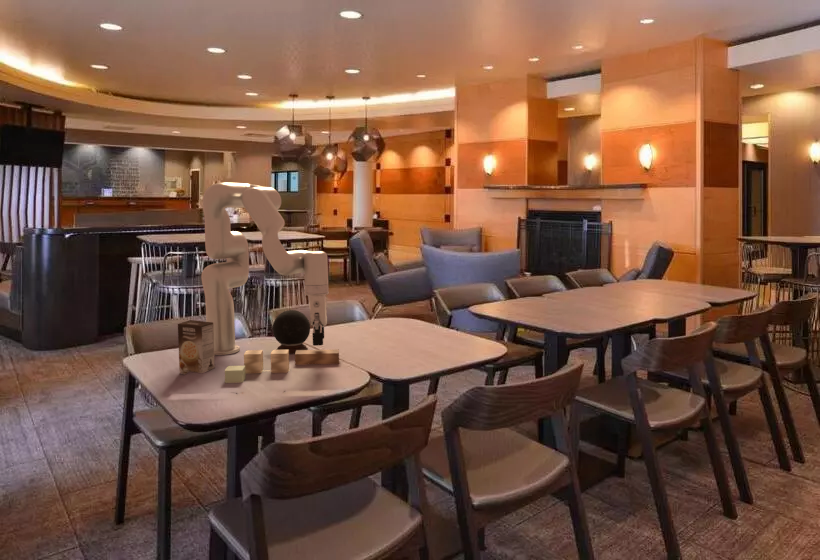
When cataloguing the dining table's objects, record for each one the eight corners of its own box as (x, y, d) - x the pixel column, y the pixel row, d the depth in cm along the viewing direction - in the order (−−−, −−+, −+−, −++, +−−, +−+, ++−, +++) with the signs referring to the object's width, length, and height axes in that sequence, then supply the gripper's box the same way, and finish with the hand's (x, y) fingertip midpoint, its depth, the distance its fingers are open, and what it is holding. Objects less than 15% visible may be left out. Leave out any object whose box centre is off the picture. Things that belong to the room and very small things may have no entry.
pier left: (244, 373, 185) (243, 354, 184) (247, 369, 190) (246, 350, 189) (261, 373, 185) (260, 354, 185) (263, 368, 190) (262, 350, 190)
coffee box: (178, 374, 188) (175, 323, 186) (192, 368, 194) (189, 319, 192) (203, 377, 185) (200, 325, 183) (216, 371, 191) (214, 321, 189)
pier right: (271, 372, 186) (270, 353, 185) (273, 368, 191) (272, 349, 190) (287, 372, 186) (287, 353, 185) (289, 368, 191) (288, 349, 190)
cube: (225, 387, 176) (224, 370, 175) (228, 382, 181) (228, 365, 180) (242, 386, 176) (242, 370, 176) (245, 381, 181) (245, 365, 181)
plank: (295, 369, 195) (294, 354, 195) (296, 365, 200) (296, 350, 200) (339, 368, 197) (338, 353, 196) (339, 364, 202) (338, 349, 201)
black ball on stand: (273, 357, 209) (272, 314, 207) (272, 348, 222) (271, 307, 220) (312, 354, 213) (311, 312, 211) (309, 346, 225) (308, 306, 223)
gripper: (327, 293, 187) (329, 347, 189) (329, 285, 204) (331, 335, 206) (303, 293, 186) (305, 348, 188) (306, 286, 203) (308, 336, 205)
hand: (318, 341), depth 197 cm, fingers open, 9 cm apart
